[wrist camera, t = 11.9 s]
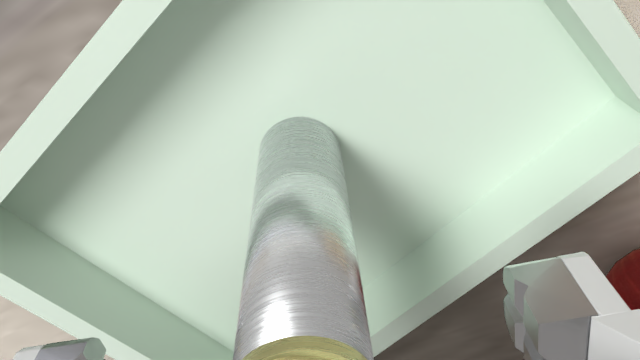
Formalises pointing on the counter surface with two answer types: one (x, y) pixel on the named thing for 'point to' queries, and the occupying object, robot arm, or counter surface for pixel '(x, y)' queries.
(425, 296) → the tray
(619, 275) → the onion
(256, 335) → the steel pin
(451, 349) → the counter surface
